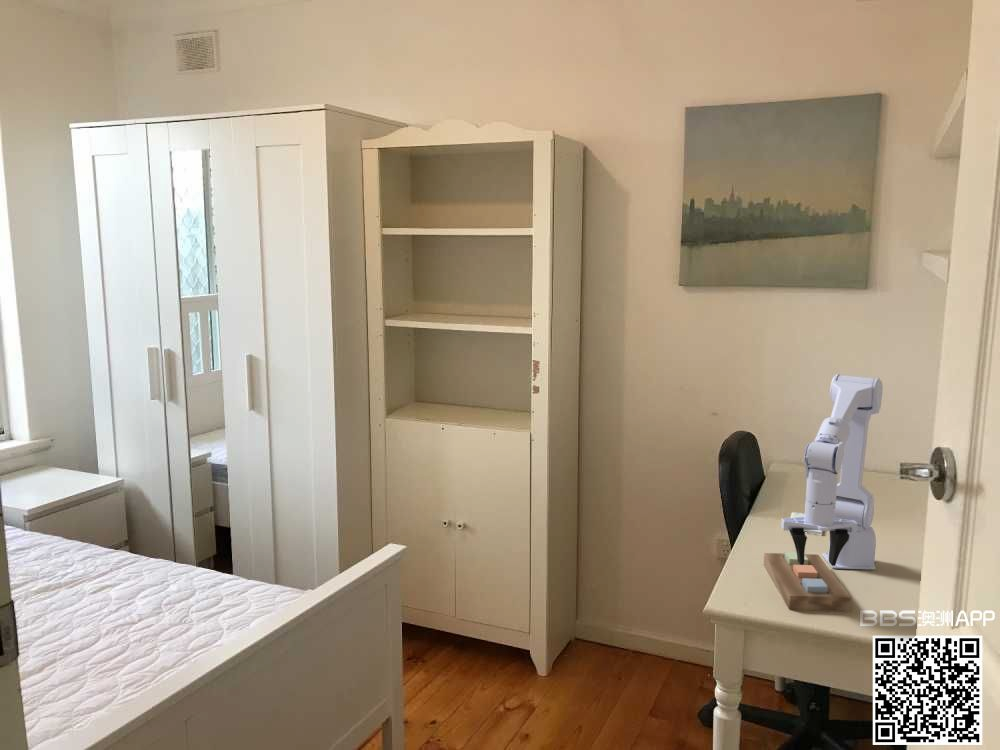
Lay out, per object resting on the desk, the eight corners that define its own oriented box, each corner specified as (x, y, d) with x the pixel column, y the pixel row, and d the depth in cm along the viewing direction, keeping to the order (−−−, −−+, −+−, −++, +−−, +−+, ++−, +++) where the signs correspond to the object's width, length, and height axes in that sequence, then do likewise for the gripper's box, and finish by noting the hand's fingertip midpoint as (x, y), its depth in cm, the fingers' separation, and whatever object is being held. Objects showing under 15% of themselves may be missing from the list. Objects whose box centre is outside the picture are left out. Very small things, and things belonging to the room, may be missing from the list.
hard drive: (791, 511, 218) (788, 527, 207) (824, 515, 215) (822, 531, 204) (791, 517, 219) (787, 533, 207) (823, 521, 215) (822, 537, 204)
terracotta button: (811, 575, 176) (812, 565, 176) (816, 583, 173) (817, 572, 172) (792, 574, 177) (793, 564, 176) (797, 582, 173) (798, 572, 172)
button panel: (817, 566, 185) (818, 554, 185) (850, 611, 164) (851, 597, 163) (763, 565, 186) (764, 553, 186) (789, 609, 165) (789, 595, 164)
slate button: (821, 589, 170) (821, 578, 169) (827, 598, 166) (827, 587, 165) (801, 588, 170) (802, 578, 169) (807, 597, 166) (807, 586, 166)
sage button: (802, 562, 183) (803, 552, 183) (807, 569, 179) (808, 559, 179) (784, 562, 184) (784, 552, 183) (788, 569, 180) (789, 559, 179)
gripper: (789, 505, 161) (785, 570, 163) (864, 507, 160) (859, 572, 162) (780, 494, 168) (776, 556, 170) (852, 496, 167) (847, 558, 169)
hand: (816, 563), depth 167 cm, fingers open, 6 cm apart
